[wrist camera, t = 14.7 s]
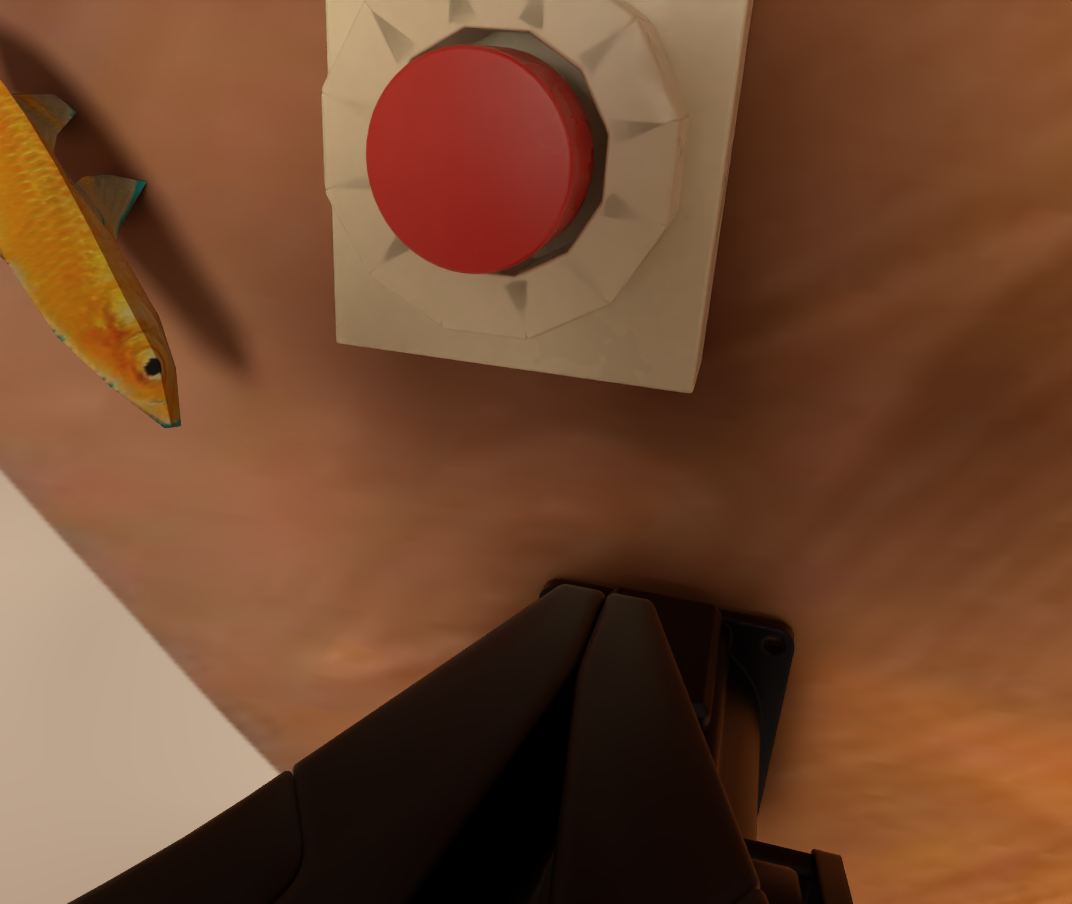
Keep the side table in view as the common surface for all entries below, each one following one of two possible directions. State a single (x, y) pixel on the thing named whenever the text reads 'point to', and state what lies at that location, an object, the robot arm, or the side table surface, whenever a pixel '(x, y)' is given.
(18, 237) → the fish
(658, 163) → the block
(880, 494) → the side table surface
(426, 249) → the button
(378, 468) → the side table surface
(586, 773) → the robot arm
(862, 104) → the side table surface
